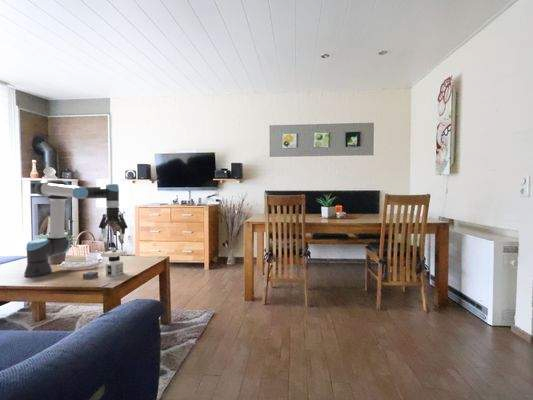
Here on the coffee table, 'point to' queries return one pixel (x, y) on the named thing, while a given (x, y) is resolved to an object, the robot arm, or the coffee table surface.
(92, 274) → the stand
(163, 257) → the coffee table surface
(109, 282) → the coffee table surface
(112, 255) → the lid
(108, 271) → the container
